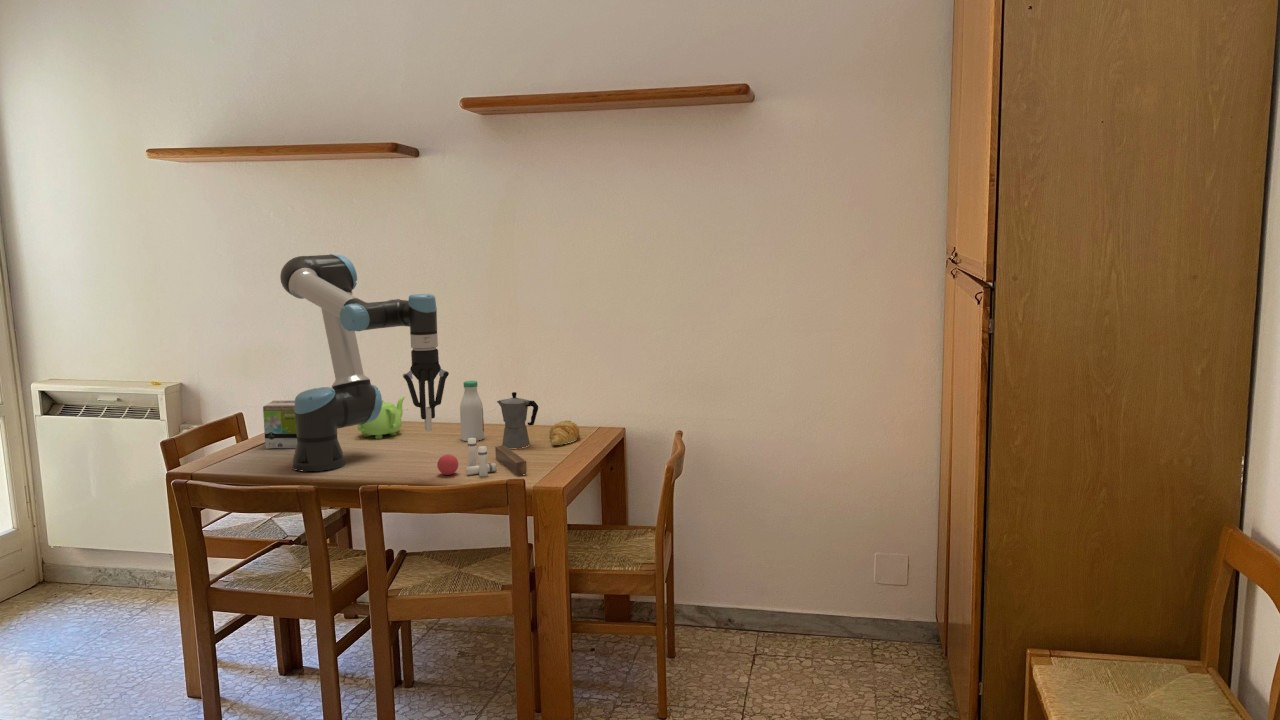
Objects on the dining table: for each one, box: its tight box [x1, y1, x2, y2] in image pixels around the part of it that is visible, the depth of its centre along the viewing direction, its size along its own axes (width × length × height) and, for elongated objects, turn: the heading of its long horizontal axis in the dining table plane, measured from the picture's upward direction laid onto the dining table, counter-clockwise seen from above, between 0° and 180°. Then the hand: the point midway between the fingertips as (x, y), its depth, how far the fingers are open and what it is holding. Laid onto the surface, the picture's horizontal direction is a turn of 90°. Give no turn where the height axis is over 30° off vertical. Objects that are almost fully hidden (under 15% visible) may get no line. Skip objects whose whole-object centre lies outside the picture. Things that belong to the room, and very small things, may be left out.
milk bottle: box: [459, 380, 485, 442], centre depth 315 cm, size 8×8×20 cm
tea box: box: [262, 400, 297, 450], centre depth 310 cm, size 15×10×15 cm
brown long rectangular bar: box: [495, 445, 528, 476], centre depth 280 cm, size 3×22×4 cm, turn 25°
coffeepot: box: [496, 391, 539, 449], centre depth 304 cm, size 15×9×18 cm, turn 66°
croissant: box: [548, 420, 580, 446], centre depth 313 cm, size 21×10×8 cm, turn 167°
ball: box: [437, 453, 459, 476], centre depth 272 cm, size 6×6×6 cm
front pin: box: [465, 462, 498, 476], centre depth 273 cm, size 3×3×8 cm
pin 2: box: [477, 445, 489, 478], centre depth 270 cm, size 3×3×8 cm
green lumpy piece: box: [357, 396, 406, 440], centre depth 325 cm, size 16×14×13 cm
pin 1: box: [467, 438, 478, 467], centre depth 281 cm, size 3×3×8 cm
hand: (428, 429), depth 268 cm, fingers closed
